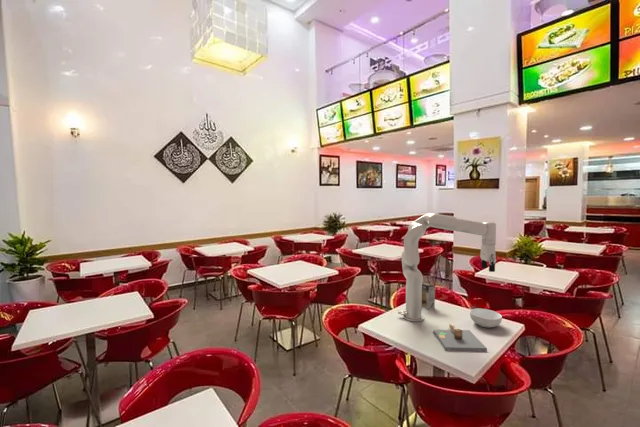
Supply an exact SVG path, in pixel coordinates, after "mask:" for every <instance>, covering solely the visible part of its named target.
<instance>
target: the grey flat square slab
mask: <svg viewBox="0 0 640 427" xmlns="http://www.w3.org/2000/svg"><path fill="white" fill-rule="evenodd" d="M461 330H462V331H463V332H462V339H460V340H459V339H455V338H454V333H453V332H452V331H451V330H450V329H432V332H433V334H434V336H435V337H436V340H438V341H439V343H440V344H441V346H442V348H443V349H444V350H445V351H463V352H464V351H465V352H467V351H469V352H487V351H488V350H487V349H488V348H487V347H486V345H484V344H483V343H482V342H481V341H480V339H478V337H477V336H475V335H474V333H473V332H471V330H470V329H461Z"/></svg>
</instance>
